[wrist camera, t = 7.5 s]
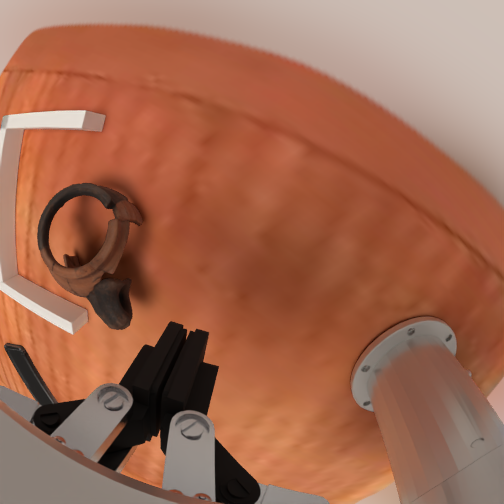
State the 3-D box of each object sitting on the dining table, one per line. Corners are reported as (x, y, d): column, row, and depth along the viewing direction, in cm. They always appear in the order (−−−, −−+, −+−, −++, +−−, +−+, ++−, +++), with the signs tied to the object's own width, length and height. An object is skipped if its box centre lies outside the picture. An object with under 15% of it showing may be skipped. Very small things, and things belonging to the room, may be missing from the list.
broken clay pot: (59, 240, 23) (16, 216, 15) (130, 191, 25) (105, 149, 17) (110, 343, 22) (71, 356, 14) (188, 292, 24) (179, 285, 16)
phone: (21, 348, 28) (64, 417, 32) (25, 344, 29) (67, 413, 33) (2, 344, 29) (41, 408, 33) (6, 341, 30) (44, 405, 34)
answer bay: (105, 115, 19) (78, 108, 15) (88, 321, 25) (67, 339, 21) (20, 117, 19) (-3, 115, 15) (13, 280, 25) (-6, 291, 21)
